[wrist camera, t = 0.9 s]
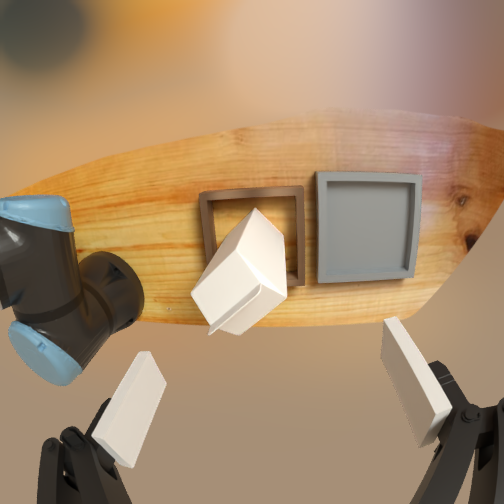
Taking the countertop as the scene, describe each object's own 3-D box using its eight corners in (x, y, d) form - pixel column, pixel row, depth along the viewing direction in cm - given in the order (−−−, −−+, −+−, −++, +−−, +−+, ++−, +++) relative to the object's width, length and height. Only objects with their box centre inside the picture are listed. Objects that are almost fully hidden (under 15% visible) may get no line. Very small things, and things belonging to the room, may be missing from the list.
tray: (316, 276, 42) (318, 283, 40) (315, 171, 37) (317, 172, 34) (407, 271, 40) (413, 277, 38) (415, 174, 35) (422, 175, 33)
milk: (284, 235, 40) (291, 318, 20) (255, 262, 42) (235, 359, 21) (254, 206, 39) (230, 263, 18) (226, 234, 41) (177, 313, 20)
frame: (214, 279, 44) (210, 287, 41) (204, 191, 39) (198, 193, 36) (303, 277, 42) (304, 285, 39) (301, 185, 38) (303, 187, 35)
